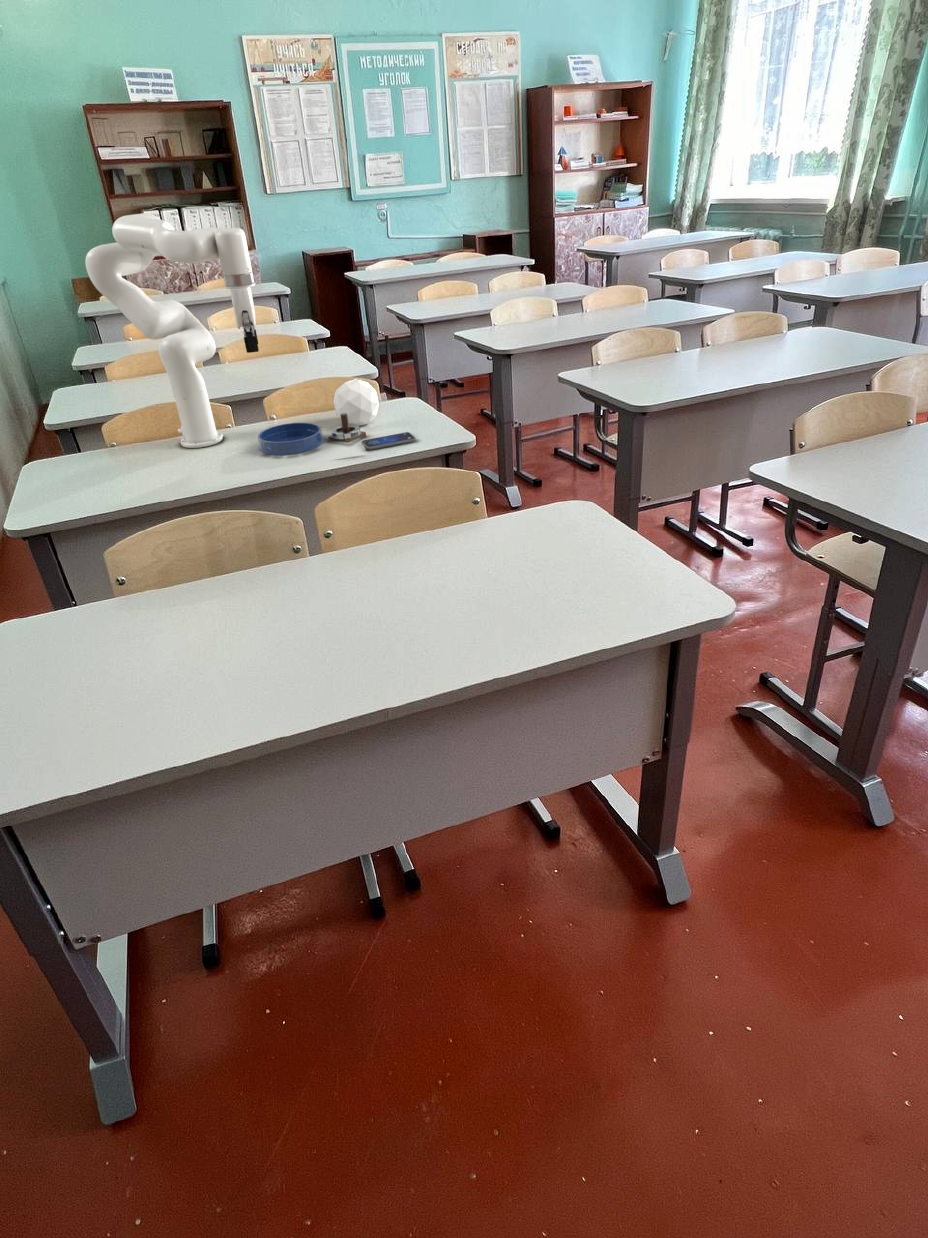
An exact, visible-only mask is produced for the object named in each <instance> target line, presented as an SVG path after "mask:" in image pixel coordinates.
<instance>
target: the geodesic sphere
mask: <svg viewBox="0 0 928 1238" xmlns="http://www.w3.org/2000/svg"><path fill="white" fill-rule="evenodd" d="M379 401H380V400H379V397H378V393H377V391H376V389H375V388H374V387H373V386H372V385H371V384H370V383H369V382H368V381H364V380H362V377H360V378H355V379H351V380H348V381H345V382H343V383H342V384H341V385H340V386H339V387H337V389H335V392H334V397H333V401H332V403H333V408H334V411H335V415H336V416H337V417H338V418H339V419H340V420H341V414H343V413H347V416H348V423H349V425H355V426H359V427H361V426H365V425H367V424H370V422H371V421H372V420H374V419H375V418H376V417H377V415H378V410H379V406H380V403H379Z"/></svg>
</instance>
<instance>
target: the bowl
mask: <svg viewBox="0 0 928 1238" xmlns="http://www.w3.org/2000/svg"><path fill="white" fill-rule="evenodd" d="M322 431H323V430H322V427H321V426H320V425H319V424H316V423H311V422H288V423H283V424H278V425H274V426H271V427H268V428H265V429H263V430H262V431H260V432H259V433H258V435H257V440H258V445H259V451H261V452H262V453H263V454H267V455H271V456H291V455H298V454H303V453H307V452H309V451H313V450H315V449H318V448H319V447H320V446H321V445H323V443H324V437H323V432H322Z"/></svg>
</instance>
